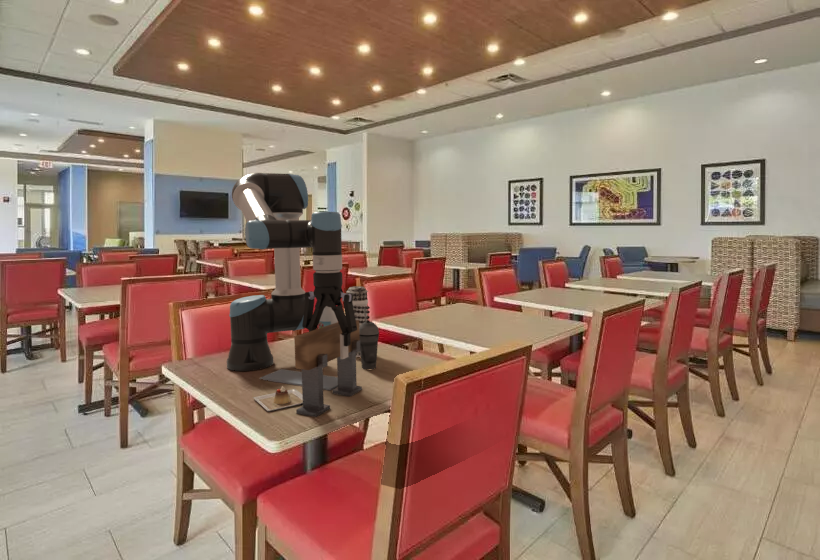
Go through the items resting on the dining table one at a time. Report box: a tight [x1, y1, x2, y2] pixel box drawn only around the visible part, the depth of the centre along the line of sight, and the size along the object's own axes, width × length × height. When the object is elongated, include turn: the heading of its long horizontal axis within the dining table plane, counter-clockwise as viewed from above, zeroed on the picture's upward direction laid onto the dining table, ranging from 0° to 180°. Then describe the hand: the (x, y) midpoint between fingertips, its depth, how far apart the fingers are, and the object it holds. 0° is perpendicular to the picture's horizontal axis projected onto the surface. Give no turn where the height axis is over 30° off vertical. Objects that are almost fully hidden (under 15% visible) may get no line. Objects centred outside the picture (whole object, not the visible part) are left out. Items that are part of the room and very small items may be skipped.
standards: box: [295, 340, 363, 418], centre depth 129 cm, size 8×22×15 cm, turn 155°
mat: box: [259, 368, 338, 391], centre depth 148 cm, size 26×10×1 cm, turn 65°
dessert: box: [252, 385, 303, 412], centre depth 130 cm, size 12×12×5 cm
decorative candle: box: [345, 285, 371, 357], centre depth 176 cm, size 9×9×25 cm
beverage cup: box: [359, 308, 380, 370], centre depth 159 cm, size 7×7×20 cm
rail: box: [294, 320, 360, 370], centre depth 128 cm, size 4×24×8 cm, turn 155°
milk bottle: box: [317, 306, 338, 329], centre depth 188 cm, size 8×8×20 cm
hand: (330, 356), depth 128 cm, fingers open, 8 cm apart
